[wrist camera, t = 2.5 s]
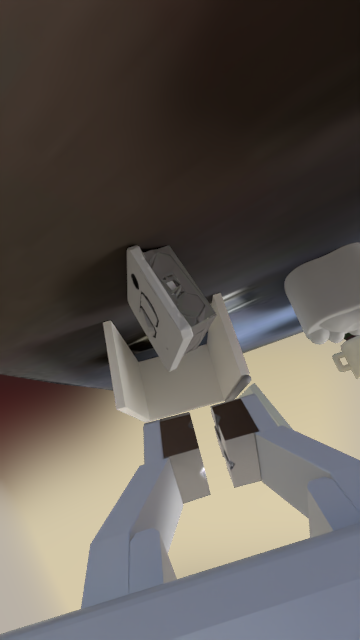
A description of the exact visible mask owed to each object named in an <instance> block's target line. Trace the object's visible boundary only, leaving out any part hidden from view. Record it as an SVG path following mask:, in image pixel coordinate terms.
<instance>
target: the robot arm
mask: <svg viewBox="0 0 360 640" xmlns="http://www.w3.org/2000/svg"><path fill="white" fill-rule="evenodd" d="M211 412H212V417H213V420H214V422H215V431H216V435H217V439H218V443H219V446H220V449H221V452H222V455H223V457H224V458H225V459H226V464H227V469H228V471H229V474H230V477H231V479H232V482H233V485H234V488H235V487H239V486H243V485H246V484H250V483H254V482H258V481H262V482H263V483H264V484H266V485H267V486H268V487H269V488H271V489H272V490H273V491H275V492H276V493H277V494H278V495H280V496H281V497H282V498H283V499H285V500H286V501H287V502H288V503H290V504H291V505H292V506H293V507H295V508H296V509H297V510H299V511H300V512H301V513H302V514H304V515H305V516H306V517H307V518H309V526H310V538H309V539H305V540H302V541H299V542H296V543H292V544H289V545H286V546H283V547H280V548H277V549H273V550H270V551H267V552H264V553H260V554H257V555H254V556H251V557H248V558H244V559H241V560H238V561H235V562H232V563H228V564H225V565H222V566H219V567H216V568H212V569H209V570H206V571H202V572H199V573H196V574H193V575H190V576H186V577H183V578H180V579H176V576H175V573H174V570H173V568H172V565H171V562H170V560H169V557H168V551H169V548H170V545H171V542H172V539H173V536H174V533H175V529H176V527H177V524H178V520H179V518H180V514H181V511H182V508H183V504H184V503H187V502H190V501H193V500H196V499H199V498H202V497H205V496H208V495H210V491H209V486H208V482H207V478H206V474H205V470H204V466H203V462H202V458H201V454H200V450H199V446H198V443H197V439H196V435H195V431H194V428H193V424H192V420H191V417H190V413H189V412H187V413H183V414H179V415H176V416H171V417H167V418H164V419H160V420H156V421H153V422H149V423H145V424H144V427H143V431H144V462H145V464H144V465H141V466H139V468H138V470H137V471H136V473H135V474H134V476H133V478H132V479H131V481H130V482H129V484H128V486H127V487H126V489H125V490H124V492H123V493H122V495H121V497H120V499H119V500H118V502H117V503H116V505H115V506H114V508H113V509H112V511H111V512H110V514H109V516H108V517H107V519H106V520H105V522H104V524H103V525H102V527H101V528H100V530H99V532H98V533H97V535H96V536H95V538H94V540H93V541H92V543H91V544H90V551H89V558H88V564H87V571H86V579H85V585H84V592H83V599H82V606H81V609H80V610H77V611H73V612H70V613H67V614H64V615H60V616H57V617H54V618H51V619H48V620H44V621H41V622H38V623H35V624H32V625H29V626H25V627H22V628H19V629H16V630H12V631H9V632H6V633H3V634H0V640H360V460H358V459H356V458H353V457H351V456H349V455H347V454H344V453H342V452H340V451H338V450H336V449H333V448H331V447H329V446H327V445H325V444H323V443H320V442H318V441H316V440H314V439H311V438H309V437H307V436H305V435H303V434H301V433H298V432H296V431H294V430H292V429H290V428H287V427H285V426H283V425H282V426H277V424H276V423H275V421H274V420H273V418H272V417H271V415H270V414H269V413H268V411H267V410H266V408H265V407H264V405H263V404H262V402H261V401H260V399H259V398H258V396H257V395H256V394H254V393H253V394H250V395H247V396H243V397H240V398H238V399H235V400H231V401H228V402H224V403H221V404H217V405H213V406H211Z"/></svg>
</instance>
